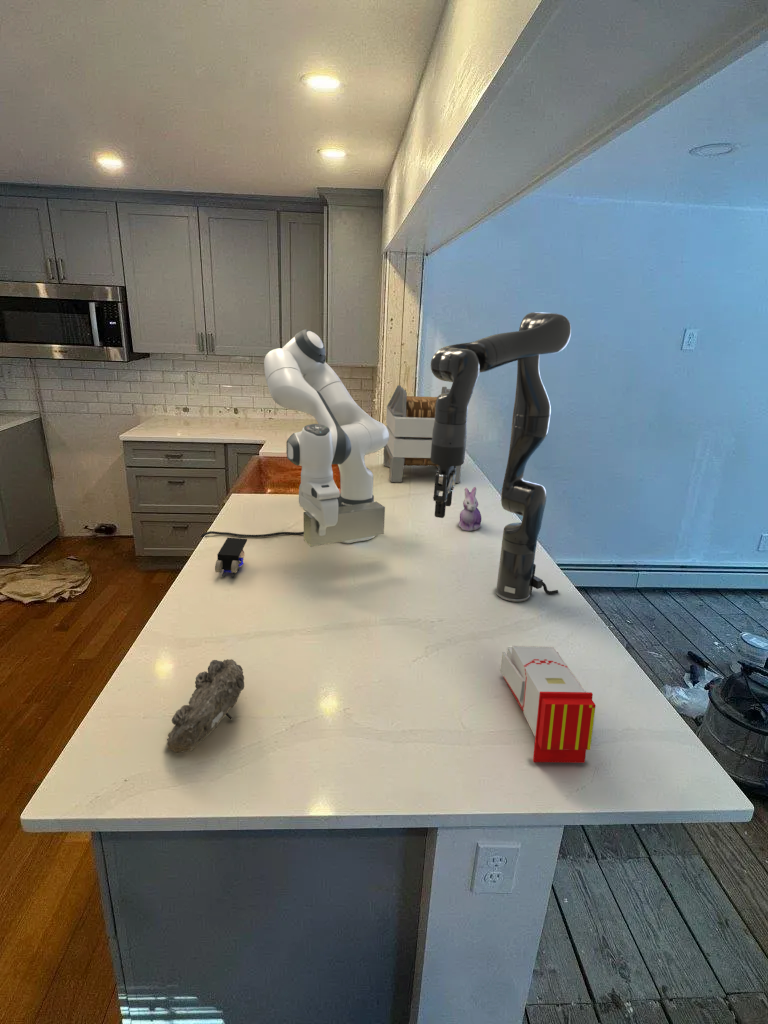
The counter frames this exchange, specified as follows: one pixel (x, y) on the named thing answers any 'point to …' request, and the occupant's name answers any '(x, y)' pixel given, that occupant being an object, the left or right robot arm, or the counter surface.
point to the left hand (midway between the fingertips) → (316, 530)
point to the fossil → (206, 705)
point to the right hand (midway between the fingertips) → (443, 511)
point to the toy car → (230, 556)
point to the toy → (550, 702)
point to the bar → (347, 524)
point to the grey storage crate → (410, 432)
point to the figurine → (470, 512)
